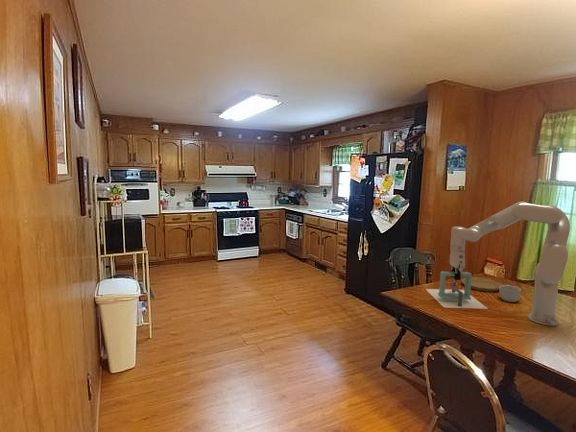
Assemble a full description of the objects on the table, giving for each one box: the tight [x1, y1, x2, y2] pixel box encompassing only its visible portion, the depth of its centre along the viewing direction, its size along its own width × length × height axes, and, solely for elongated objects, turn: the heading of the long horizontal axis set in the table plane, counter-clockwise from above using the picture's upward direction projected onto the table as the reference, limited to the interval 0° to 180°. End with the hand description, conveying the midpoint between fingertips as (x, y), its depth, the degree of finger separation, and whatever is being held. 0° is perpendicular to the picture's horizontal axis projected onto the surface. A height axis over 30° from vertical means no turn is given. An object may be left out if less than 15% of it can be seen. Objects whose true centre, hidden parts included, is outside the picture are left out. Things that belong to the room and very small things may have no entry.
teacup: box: [498, 284, 522, 303], centre depth 198 cm, size 14×11×8 cm
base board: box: [425, 288, 489, 310], centre depth 197 cm, size 30×24×2 cm
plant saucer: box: [460, 276, 503, 293], centre depth 222 cm, size 24×24×3 cm
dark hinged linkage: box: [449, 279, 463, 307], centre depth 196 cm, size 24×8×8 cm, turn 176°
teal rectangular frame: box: [438, 270, 473, 300], centre depth 192 cm, size 6×16×15 cm, turn 86°
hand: (455, 278), depth 191 cm, fingers closed on teal rectangular frame, 4 cm apart
